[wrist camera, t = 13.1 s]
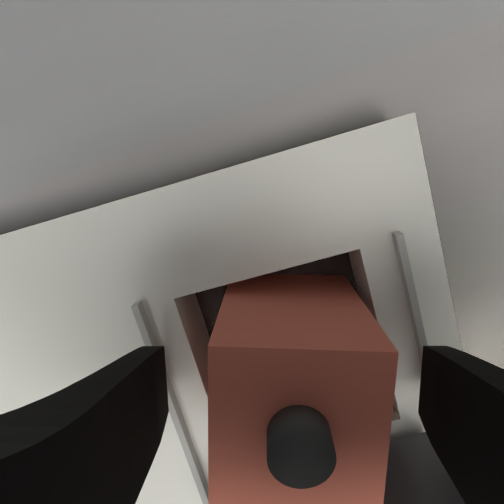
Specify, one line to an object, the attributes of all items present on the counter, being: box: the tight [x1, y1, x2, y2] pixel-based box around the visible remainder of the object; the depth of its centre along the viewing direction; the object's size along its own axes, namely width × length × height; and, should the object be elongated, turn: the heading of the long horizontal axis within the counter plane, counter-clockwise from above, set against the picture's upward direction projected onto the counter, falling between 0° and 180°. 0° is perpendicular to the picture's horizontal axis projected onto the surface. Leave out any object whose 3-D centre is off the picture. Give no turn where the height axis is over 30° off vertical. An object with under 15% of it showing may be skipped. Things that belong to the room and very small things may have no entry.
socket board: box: [0, 112, 462, 504], centre depth 14 cm, size 16×16×3 cm
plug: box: [208, 274, 399, 504], centre depth 11 cm, size 4×4×7 cm
